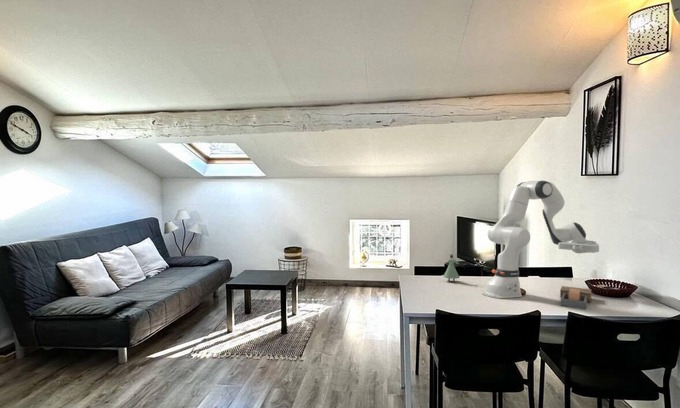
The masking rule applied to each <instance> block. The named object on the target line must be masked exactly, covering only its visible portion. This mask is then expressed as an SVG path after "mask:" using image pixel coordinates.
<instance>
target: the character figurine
mask: <svg viewBox="0 0 680 408" xmlns="http://www.w3.org/2000/svg"><path fill="white" fill-rule="evenodd" d="M449 257H450V258H448V259H447V260H446V261H445V262H444V263H442V264H441V266H443V265H444V264H448V266H447V268H446V271H445V272H444V274H443V278H444V279H447V282H448V281H450V282H451V280H452V282H453V281H456V280H457V279H460V275H459V273H458V272H457V270H456V266H455V264H457V265H460V267H461V268H464V265H462V264H461V263H459V261H456V259H455V258H454V255H453V254H450V255H449ZM455 279H456V280H455Z"/></svg>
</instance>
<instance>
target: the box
mask: <svg viewBox="0 0 680 408" xmlns="http://www.w3.org/2000/svg"><path fill="white" fill-rule="evenodd" d="M587 305H588V302H587V296H585V295H580V301H576V300H569V293H563V295H562V297H561V299H560V307H561V306H562V307H568V308H574V309H581V310H587Z"/></svg>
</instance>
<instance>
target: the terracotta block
mask: <svg viewBox="0 0 680 408" xmlns="http://www.w3.org/2000/svg"><path fill="white" fill-rule="evenodd" d="M569 300H576V301H580V290H577V289H570V291H569Z"/></svg>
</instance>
